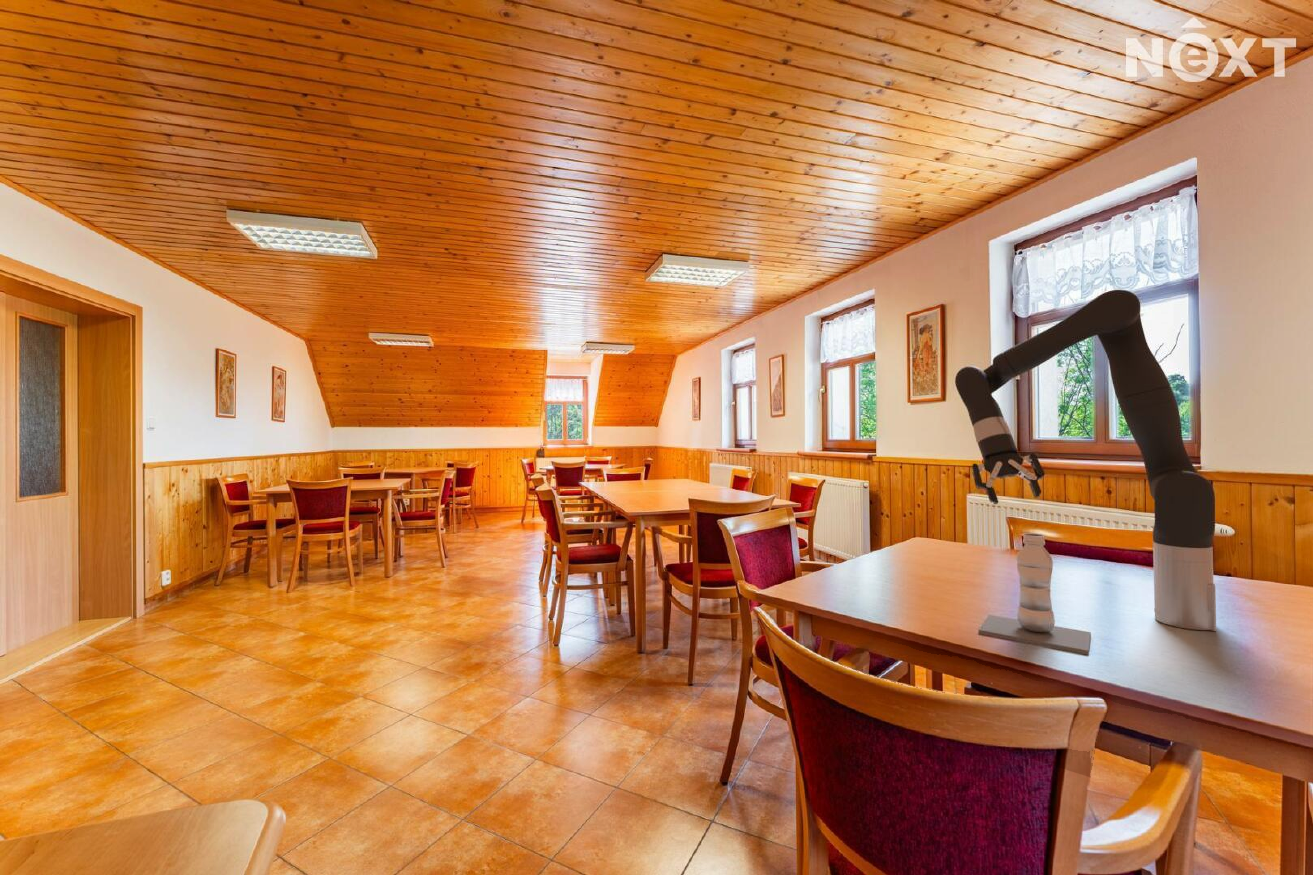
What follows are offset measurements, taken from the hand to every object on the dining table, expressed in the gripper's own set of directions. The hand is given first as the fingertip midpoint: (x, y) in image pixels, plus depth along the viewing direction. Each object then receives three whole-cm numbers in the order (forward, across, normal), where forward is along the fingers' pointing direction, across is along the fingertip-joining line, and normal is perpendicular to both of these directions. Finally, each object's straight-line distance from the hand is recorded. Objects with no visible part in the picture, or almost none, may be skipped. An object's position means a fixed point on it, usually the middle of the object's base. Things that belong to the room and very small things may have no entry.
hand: (1016, 500), depth 126 cm
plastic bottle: (+29, -6, -6) cm, 31 cm away
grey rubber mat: (+30, -7, -6) cm, 31 cm away
